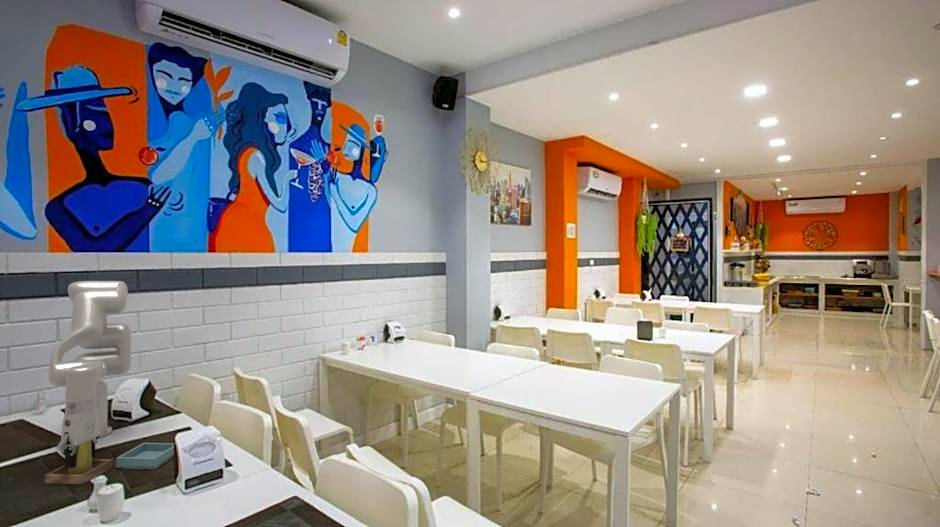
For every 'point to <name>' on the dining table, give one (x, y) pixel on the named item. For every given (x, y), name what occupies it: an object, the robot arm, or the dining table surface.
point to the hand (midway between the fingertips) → (80, 461)
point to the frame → (63, 478)
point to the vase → (82, 459)
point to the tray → (146, 456)
